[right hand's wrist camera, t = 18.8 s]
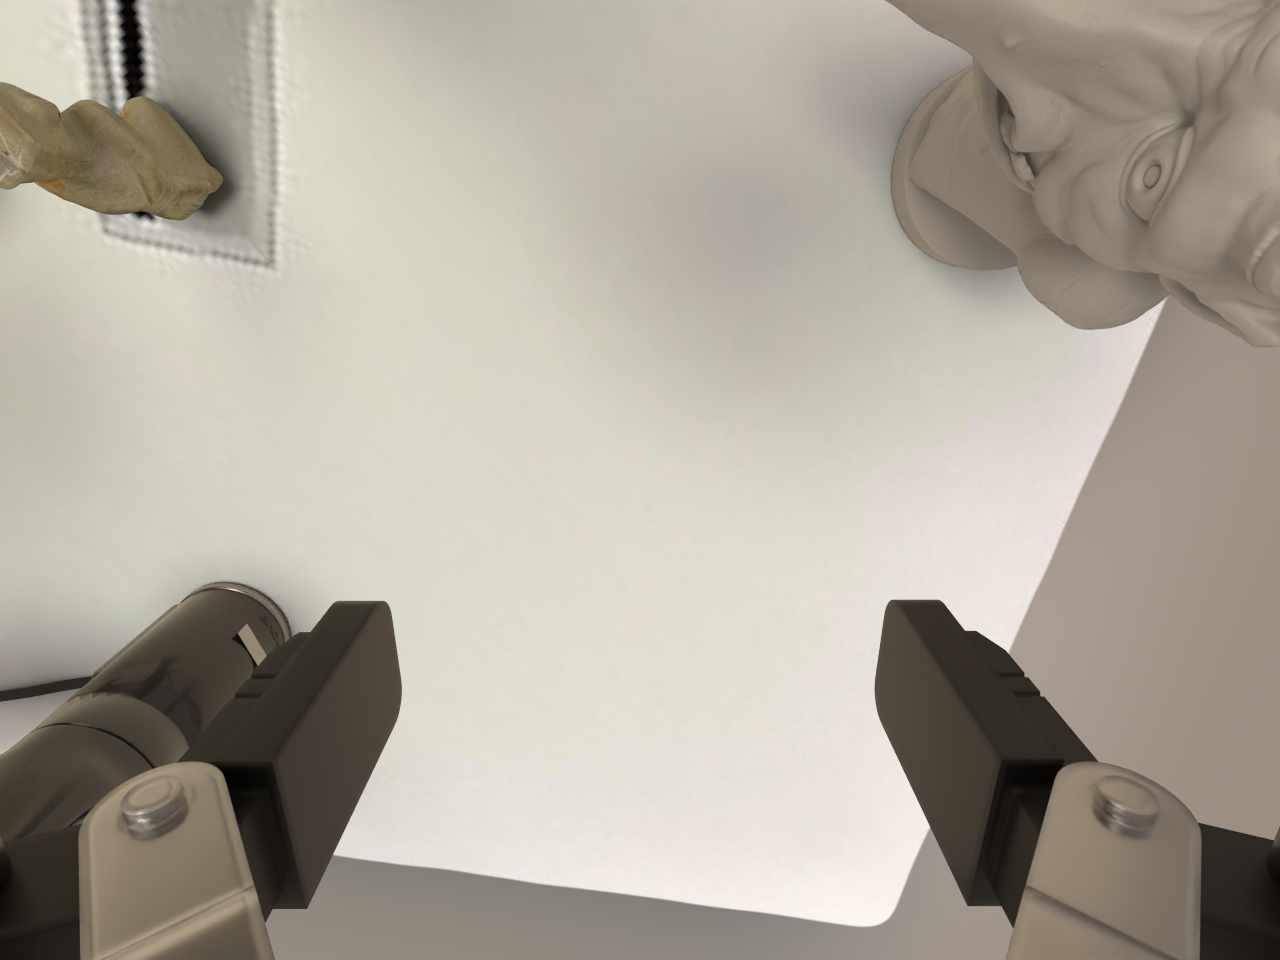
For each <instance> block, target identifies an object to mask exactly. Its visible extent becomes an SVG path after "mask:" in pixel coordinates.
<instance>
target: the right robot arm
mask: <svg viewBox="0 0 1280 960" xmlns="http://www.w3.org/2000/svg"><path fill="white" fill-rule="evenodd" d="M401 696H402V684H401V676H400V669H399V662H398V655H397V648H396V641H395V635H394V628H393V621H392V615H391V610H390V607H389V605H388V604H387V603H386V602H385V601H337V602H335V603H333V605H332V606H331V607H330V608H329V609H328V611H327V612H326V613H325V614H324V616H323V617H322V618H321V620H320V621H319V622H318V623H317V625H316V626H315V627H314V629H313V630H312V631H311V632H299V633H298V634H296V635H295V636H293V637H292V638H290V639H289V640H287V641H286V642H284V643H283V644H281V645H280V646H278V647H276V648H275V649H273V650H272V651H270V652H269V654H268V655H267V656H266V657H265V658H264V659H263V661H262V662H261V663H260V664H259V665H258V667H257V668H256V669H255V670H254V671H253V673H252V674H251V678H250V679H247V680H246V681H245V682H244V683H243V684H242V686H241V687H240V688H239V689H238V690H237V692H236V693H235V697H234V699H230V700H229V701H228V702H227V703H226V705H225V706H224V707H223V708H222V709H221V711H220V712H219V713H218V714H217V715H216V717H215V718H214V719H213V720H212V721H211V722H210V724H209V725H208V726H207V727H206V728H205V730H204V731H203V732H202V733H201V734H200V736H199V737H198V738H197V739H196V740H195V742H194V743H193V744H192V745H191V746H190V747H189V749H188V750H187V751H186V752H185V753H184V755H183V756H182V757H181V758H180V759H179V761H178V762H177V763H173V764H169V765H165V766H161V767H158V768H155V769H152V770H149V771H147V772H144V773H142V774H140V775H137V776H135V777H134V778H132V779H130V780H128V781H126V782H124V783H123V784H121V785H119V786H118V787H116V788H115V789H113V790H112V791H111V792H109V793H108V794H107V795H105V796H104V797H103V798H102V799H101V800H100V801H99V802H98V803H97V804H96V805H95V806H94V807H93V808H92V809H91V810H90V812H89V813H88V814H87V816H86V817H85V819H84V820H83V822H82V824H78V825H75V826H71V827H67V828H62V829H58V830H54V831H49V832H45V833H41V834H37V835H32V836H28V837H24V838H19V839H15V840H11V841H7V842H2V839H1V837H0V960H275V958H274V954H273V950H272V947H271V943H270V940H269V936H268V932H267V929H266V925H265V922H266V921H267V919H268V917H269V915H270V913H271V911H272V909H307V908H308V905H309V903H310V901H311V899H312V897H313V895H314V893H315V891H316V889H317V887H318V885H319V882H320V880H321V878H322V876H323V874H324V872H325V870H326V868H327V866H328V864H329V862H330V859H331V857H332V855H333V853H334V851H335V849H336V847H337V845H338V843H339V841H340V839H341V836H342V834H343V832H344V830H345V828H346V826H347V824H348V822H349V820H350V818H351V816H352V813H353V811H354V809H355V807H356V805H357V803H358V801H359V799H360V797H361V795H362V792H363V790H364V788H365V786H366V784H367V782H368V780H369V778H370V776H371V774H372V772H373V769H374V767H375V765H376V763H377V761H378V759H379V757H380V755H381V753H382V751H383V749H384V746H385V744H386V742H387V740H388V738H389V736H390V734H391V732H392V730H393V728H394V726H395V723H396V721H397V718H398V714H399V710H400V705H401ZM875 700H876V707H877V712H878V715H879V718H880V721H881V723H882V725H883V728H884V730H885V732H886V734H887V736H888V738H889V740H890V742H891V745H892V747H893V749H894V751H895V753H896V755H897V757H898V759H899V761H900V764H901V766H902V768H903V770H904V772H905V774H906V776H907V778H908V781H909V783H910V785H911V787H912V789H913V791H914V793H915V795H916V798H917V800H918V802H919V804H920V806H921V808H922V810H923V812H924V814H925V817H926V819H927V821H928V823H929V825H930V827H931V829H932V831H933V834H934V836H935V838H936V840H937V842H938V844H939V846H940V848H941V850H942V853H943V855H944V857H945V859H946V861H947V863H948V865H949V867H950V869H951V872H952V874H953V876H954V878H955V880H956V882H957V884H958V886H959V889H960V891H961V893H962V895H963V897H964V899H965V901H966V903H967V905H968V906H1002V908H1003V910H1004V912H1005V914H1006V915H1007V917H1008V919H1009V921H1010V923H1011V925H1012V927H1013V932H1012V936H1011V940H1010V943H1009V947H1008V951H1007V954H1006V958H1005V960H1280V828H1279V830H1278V832H1277V835H1276V837H1275V839H1274V840H1269V839H1266V838H1261V837H1257V836H1253V835H1248V834H1244V833H1240V832H1235V831H1231V830H1227V829H1223V828H1218V827H1214V826H1210V825H1205V824H1201V823H1198V822H1197V820H1196V819H1195V817H1194V816H1193V814H1192V813H1191V812H1190V810H1189V809H1188V808H1187V807H1186V806H1185V805H1184V804H1183V803H1182V802H1181V801H1180V800H1179V799H1178V798H1177V797H1176V796H1175V795H1173V794H1172V793H1171V792H1169V791H1168V790H1167V789H1165V788H1164V787H1162V786H1161V785H1159V784H1157V783H1156V782H1154V781H1152V780H1150V779H1148V778H1146V777H1145V776H1143V775H1140V774H1138V773H1136V772H1133V771H1131V770H1128V769H1125V768H1122V767H1119V766H1115V765H1111V764H1107V763H1100V762H1098V761H1097V760H1096V758H1095V757H1094V756H1093V755H1092V754H1091V752H1090V751H1089V750H1088V749H1087V748H1086V746H1085V745H1084V744H1083V743H1082V742H1081V740H1080V739H1079V738H1078V737H1077V736H1076V734H1075V733H1074V732H1073V731H1072V730H1071V728H1070V727H1069V726H1068V725H1067V724H1066V722H1065V721H1064V720H1063V719H1062V718H1061V716H1060V715H1059V714H1058V713H1057V712H1056V710H1055V709H1054V708H1053V707H1052V706H1051V704H1050V703H1049V702H1048V701H1047V700H1046V698H1045V697H1041V696H1040V691H1039V690H1038V689H1037V688H1036V686H1035V685H1034V684H1033V683H1032V682H1031V680H1030V679H1029V678H1028V677H1025V676H1024V672H1023V671H1022V670H1021V668H1020V667H1019V666H1018V665H1017V664H1016V662H1015V661H1014V660H1013V659H1012V658H1011V656H1010V655H1009V654H1008V653H1007V652H1006V650H1004V649H1003V648H1001V647H1000V646H998V645H997V644H995V643H994V642H992V641H991V640H989V639H988V638H986V637H985V636H983V635H981V634H980V633H978V632H977V631H965V630H964V629H963V628H962V626H961V625H960V624H959V623H958V621H957V620H956V619H955V617H954V616H953V615H952V614H951V612H950V611H949V610H948V608H947V607H946V606H945V604H944V603H943V602H941V601H940V600H891V601H890V602H889V603H888V604H887V607H886V610H885V615H884V621H883V628H882V635H881V642H880V649H879V656H878V663H877V670H876V677H875Z"/></svg>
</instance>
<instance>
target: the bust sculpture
mask: <svg viewBox="0 0 1280 960" xmlns="http://www.w3.org/2000/svg"><path fill="white" fill-rule="evenodd" d="M886 1H887V2H889V3H890V4H892V5H893V6H895V7H896V8H898V9H899V10H900V11H902V12H903V13H904V14H906V15H907V16H908V17H910V18H911V19H912V20H913V21H914V22H916V23H917V24H919V25H920V26H921V27H923V28H924V29H926V30H928V31H930V32H932V33H934V34H936V35H938V36H940V37H942V38H945V39H946V40H948V41H950V42H952V43H954V44H956V45H957V46H959V47H961V48H962V49H964V50H966V51H967V52H968V53H970V54H971V55H972V56H973V66H971V67H969V68H967V69H965V70H962V71H960V72H958V73H957V74H955V75H953V76H951V77H950V78H948V79H947V80H945V81H944V82H943V83H941V84H940V85H939V86H938V87H936V88H935V89H934V90H933V91H932V92H931V93H930V94H929V95H928V96H927V97H926V98H925V99H924V100H923V101H922V103H921V104H920V105H919V106H918V108H917V109H916V110H915V112H914V113H913V115H912V116H911V118H910V119H909V121H908V123H907V125H906V127H905V129H904V131H903V133H902V135H901V137H900V140H899V143H898V146H897V149H896V152H895V156H894V161H893V168H892V196H893V202H894V206H895V210H896V213H897V216H898V219H899V221H900V223H901V225H902V227H903V229H904V231H905V232H906V234H907V235H908V237H909V238H910V239H911V240H912V242H913V243H914V244H915V245H916V246H917V247H918V248H919V249H921V250H922V251H923V252H924V253H926V254H927V255H929V256H930V257H932V258H934V259H936V260H938V261H940V262H943V263H946V264H949V265H953V266H959V267H964V268H970V269H977V270H997V269H1004V268H1009V267H1013V266H1016V265H1017V266H1018V270H1019V273H1020V275H1021V277H1022V280H1023V282H1024V284H1025V286H1026V288H1027V289H1028V290H1029V291H1030V293H1031V294H1032V295H1033V296H1034V297H1035V298H1036V299H1037V300H1038V301H1039V302H1041V304H1043V305H1044V306H1046V307H1047V308H1048V309H1050V310H1051V311H1052V312H1053V313H1055V314H1056V315H1057V316H1059V317H1060V318H1061V319H1062V320H1063V321H1065V322H1066V323H1068V324H1069V325H1071V326H1073V327H1076V328H1079V329H1086V330H1093V329H1106V328H1112V327H1116V326H1120V325H1123V324H1126V323H1128V322H1131V321H1133V320H1135V319H1137V318H1138V317H1140V316H1141V315H1142V314H1144V313H1145V312H1146V311H1148V310H1149V309H1151V308H1153V307H1154V306H1156V305H1157V304H1158V303H1160V302H1161V301H1162V300H1164V299H1165V298H1166V297H1167V296H1168V295H1169V294H1171V295H1172V296H1173V297H1174V298H1175V299H1176V300H1177V301H1178V302H1179V303H1181V304H1182V305H1183V306H1184V307H1186V308H1187V309H1188V310H1190V311H1191V312H1193V313H1194V314H1195V315H1197V316H1198V317H1200V318H1202V319H1204V320H1207V321H1210V322H1212V323H1214V324H1217V325H1219V326H1221V327H1223V328H1224V329H1226V330H1228V331H1229V332H1231V333H1233V334H1234V335H1236V336H1238V337H1240V338H1241V339H1243V340H1244V341H1245V342H1246V343H1248V344H1250V345H1251V346H1254V347H1276V346H1280V0H886Z"/></svg>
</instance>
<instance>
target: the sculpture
mask: <svg viewBox="0 0 1280 960" xmlns="http://www.w3.org/2000/svg"><path fill="white" fill-rule="evenodd" d="M31 182H35V183H36V184H37V185H39V186H40V187H42V188H44V189H45V190H47V191H49V192H51V193H53V194H55V195H57V196H58V197H60V198H62V199H64V200H67V201H70V202H73V203H76V204H78V205H81V206H83V207H86V208H88V209H91V210H94V211H96V212H99V213H104V214H110V215H116V214H128V213H133V212H138V211H145V212H149V213H151V214H153V215H156V216H159V217H162V218H165V219H170V220H173V219H174V220H184V219H186V218H187V217H189V216H190V215H191V214H192V213H193V212H195V211H196V210H198V209H199V208H200V207H201V206H202V205H203V204H204V201H205V199H206V198H207V197H208V195H209V194H210V193H213V192H215V191H217V189H218V188H219V187H220V185H221V184H222V182H223V177H222V176H221V174H220V173H219V172H218V171H217V170H216V169H215V168H214V167H211V166H210V165H209V164H208V163H207V162H206V161H205V159H204V158H203V156H202V154H201V153H200V151H199V149H198V148H197V146H196V145H195V143H194V142H193V141H192V140H191V138H190V137H189V136H188V135H187V133H186V132H185V131H184V130H183V129H182V127H181V126H180V125H179V124H178V123H177V122H176V121H175V119H174V118H173V117H172V116H171V115H170V114H169V113H168V112H167V111H166V110H165V109H163V108H162V107H161V106H160V105H158V104H157V103H156V102H154V101H153V100H152V99H149V98H146V97H142V96H140V97H135V98H132V99H130V100H128V101H127V102H126V103H125V105H124V107H123V109H122V112H121V113H120V115H118V114H117V113H115V112H114V111H112V110H111V109H109V108H107V107H105V106H103V105H101V104H99V103H97V102H95V101H92V100H81V101H78V102H76V103H74V104H73V105H72V106H70V107H69V108H67V109H66V110H65V111H63V112H62V113H60V111H59V109H58V108H57V107H56V106H55V105H54V104H53V103H51V102H49V101H47V100H45V99H43V98H40V97H38V96H36V95H33V94H31V93H29V92H26V91H24V90H22V89H20V88H18V87H16V86H14V85H11V84H8V83H3V82H0V188H3V189H12V188H15V187H16V186H18V185H19V184H21V183H31Z"/></svg>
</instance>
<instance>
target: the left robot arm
mask: <svg viewBox="0 0 1280 960" xmlns="http://www.w3.org/2000/svg"><path fill="white" fill-rule="evenodd" d="M289 639H290V632H289V628H288V625H287V622H286V620H285V618H284V616H283V615H282V613H281V612H280V610H279V609H278V608H277V607H276V606H275V605H274V604H273V603H272V602H271V601H270V600H269V599H267V598H266V597H265V596H263V595H262V594H260V593H258V592H257V591H255V590H253V589H250V588H248V587H245V586H242V585H237V584H232V583H214V584H209V585H206V586H203V587H200V588H198V589H196V590H195V591H193V592H192V593H191V594H190V595H188V596H187V597H186V598H185V599H184V600H183V601H182V602H181V603H180V604H179V606H174V607H171V608H170V609H169V610H168V611H167V612H165V613H164V614H163V615H162V616H161V617H159V618H158V619H157V620H156V621H155V622H154V623H152V624H151V625H150V626H149V627H148V628H146V629H145V630H144V631H143V632H142V633H140V634H139V635H138V636H137V637H136V638H135V639H133V640H132V641H131V642H130V643H129V644H127V645H126V646H125V647H124V648H123V649H122V650H120V651H119V652H118V653H117V654H116V655H114V656H113V657H112V658H111V659H110V660H109V661H107V662H106V663H105V664H104V665H103V666H101V667H100V668H99V669H98V670H97V671H96V672H94V674H93V675H92V677H84V678H78V679H72V680H66V681H61V682H55V683H50V684H44V685H39V686H34V687H28V688H22V689H15V690H8V691H2V692H0V702H1V701H8V700H14V699H21V698H28V697H34V696H39V695H44V694H49V693H55V692H60V691H66V690H72V689H77V688H81V689H80V690H79V691H78V692H77V693H76V694H74V695H73V696H72V697H71V698H70V699H69V700H67V701H66V702H65V703H64V704H63V705H62V706H61V707H59V708H58V709H57V710H56V711H55V712H54V713H53V714H51V715H50V716H49V717H48V718H47V719H46V720H44V721H43V722H42V723H41V724H40V725H39V726H37V727H36V728H35V729H34V730H33V731H32V732H30V733H29V734H28V735H27V736H25V737H24V738H23V739H22V740H20V741H19V742H18V743H17V744H16V745H14V746H13V747H12V748H11V749H9V750H8V751H6V752H5V753H3V754H1V755H0V837H1V839H2V842H7V841H11V840H15V839H19V838H24V837H28V836H32V835H37V834H41V833H45V832H49V831H54V830H58V829H62V828H67V827H71V826H75V825H78V824H82V822H83V820H84V819H85V817H86V816H87V814H88V813H89V812H90V810H91V809H92V808H93V807H94V806H95V805H96V804H97V803H98V802H99V801H100V800H101V799H102V798H103V797H104V796H105V795H107V794H108V793H109V792H111V791H112V790H113V789H115V788H116V787H118V786H119V785H121V784H123V783H124V782H126V781H128V780H130V779H132V778H134V777H135V776H137V775H140V774H142V773H144V772H147V771H149V770H152V769H155V768H158V767H161V766H165V765H169V764H173V763H177V762H178V761H179V759H180V758H181V757H182V756H183V755H184V753H185V752H186V751H187V750H188V749H189V747H190V746H191V745H192V744H193V743H194V742H195V740H196V739H197V738H198V737H199V736H200V734H201V733H202V732H203V731H204V730H205V728H206V727H207V726H208V725H209V724H210V722H211V721H212V720H213V719H214V718H215V717H216V715H217V714H218V713H219V712H220V711H221V709H222V708H223V707H224V706H225V705H226V703H227V702H228V701H229V700H230V699H234V697H235V693H236V692H237V690H238V689H239V688H240V687H241V686H242V684H243V683H244V682H245V681H246V680H247V679H250V678H251V674H252V673H253V671H254V670H255V669H256V668H257V667H258V665H259V664H260V663H261V662H262V661H263V659H264V658H265V657H266V656H267V655H268V654H269V652H270V651H272V650H273V649H275V648H276V647H278V646H280V645H281V644H283V643H284V642H286V641H287V640H289Z"/></svg>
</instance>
